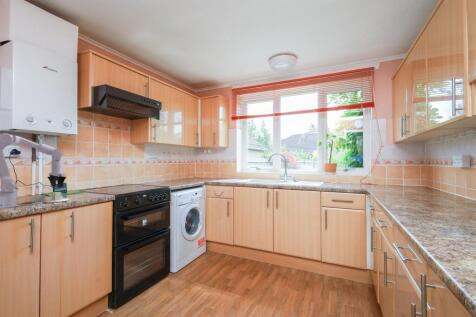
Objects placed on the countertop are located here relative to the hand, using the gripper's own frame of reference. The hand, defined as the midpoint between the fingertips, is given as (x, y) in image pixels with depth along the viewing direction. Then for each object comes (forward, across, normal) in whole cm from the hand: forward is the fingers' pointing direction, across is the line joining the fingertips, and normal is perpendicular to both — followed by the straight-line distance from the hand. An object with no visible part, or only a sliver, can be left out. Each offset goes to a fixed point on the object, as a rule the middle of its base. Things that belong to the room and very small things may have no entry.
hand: (56, 186), depth 151 cm
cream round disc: (+10, 0, 0) cm, 10 cm away
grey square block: (+10, +10, +6) cm, 15 cm away
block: (+9, 0, 0) cm, 9 cm away
